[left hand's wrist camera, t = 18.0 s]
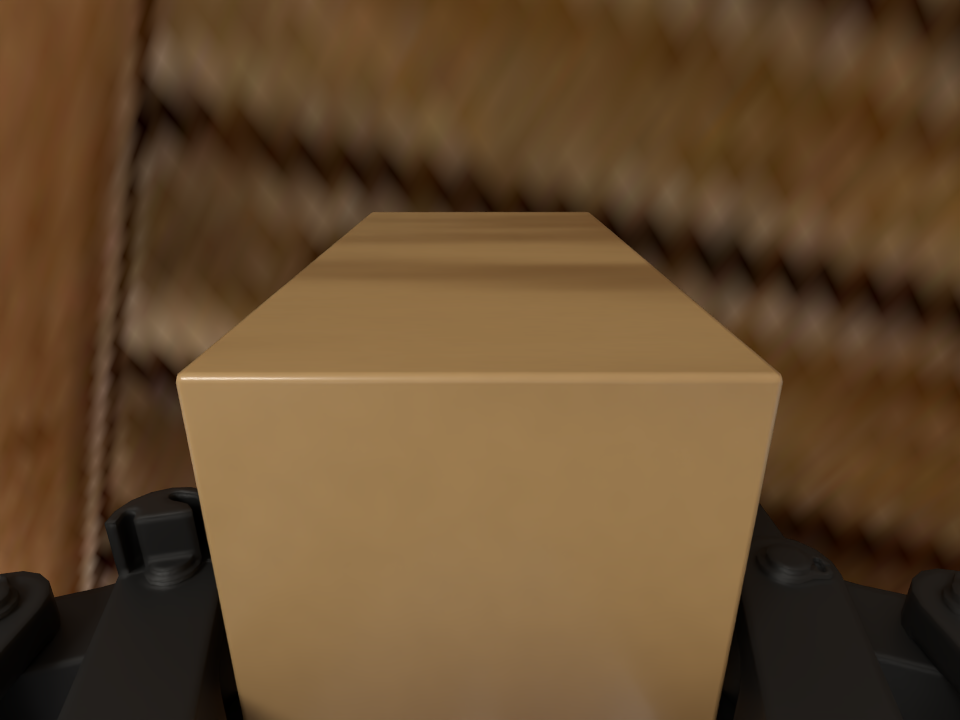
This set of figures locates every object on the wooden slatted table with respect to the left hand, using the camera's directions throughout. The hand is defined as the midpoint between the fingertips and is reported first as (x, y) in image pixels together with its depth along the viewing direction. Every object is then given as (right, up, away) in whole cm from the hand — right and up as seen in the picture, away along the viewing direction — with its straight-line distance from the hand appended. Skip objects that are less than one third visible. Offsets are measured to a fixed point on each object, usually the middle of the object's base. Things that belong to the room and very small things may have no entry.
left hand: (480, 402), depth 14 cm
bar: (0, -6, +3) cm, 7 cm away
